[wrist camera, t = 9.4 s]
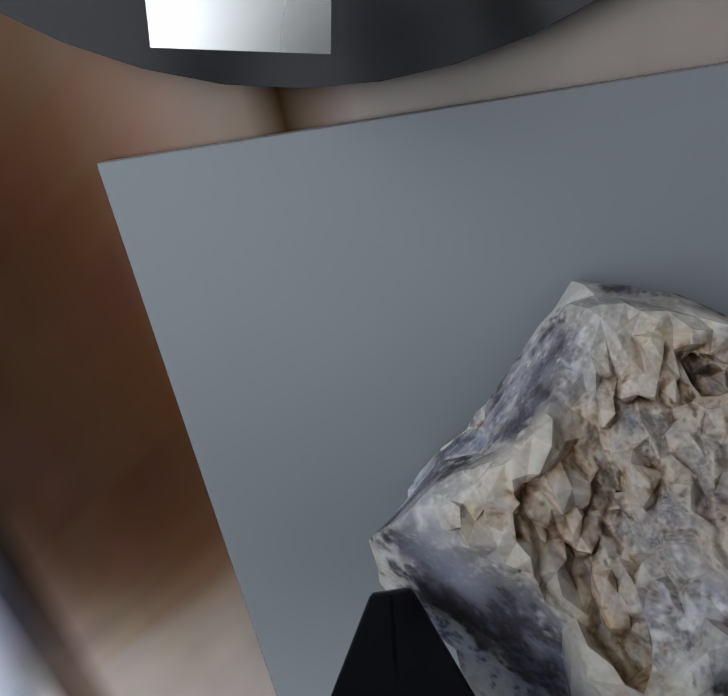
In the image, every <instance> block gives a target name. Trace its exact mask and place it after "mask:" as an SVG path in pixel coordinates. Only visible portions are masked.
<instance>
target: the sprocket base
mask: <svg viewBox="0 0 728 696" xmlns="http://www.w3.org/2000/svg"><path fill="white" fill-rule="evenodd" d="M593 1H595V0H336V47H335V49H334V50H333V52H332V53H331V54H312V53H285V52H258V51H231V50H204V49H177V48H150V39H149V29H148V20H147V11H146V2H145V0H0V13H2V14H4V15H6V16H9V17H11V18H13V19H15V20H17V21H19V22H21V23H23V24H26V25H28V26H30V27H32V28H34V29H36V30H38V31H40V32H42V33H45V34H47V35H49V36H51V37H53V38H55V39H57V40H59V41H61V42H64V43H67V44H70V45H73V46H76V47H79V48H82V49H85V50H88V51H91V52H94V53H97V54H100V55H103V56H106V57H109V58H112V59H115V60H118V61H121V62H124V63H127V64H130V65H134V66H137V67H140V68H143V69H147V70H152V71H157V72H162V73H168V74H173V75H178V76H183V77H189V78H194V79H199V80H204V81H210V82H215V83H220V84H229V85H249V86H269V87H288V88H310V87H322V86H333V85H344V84H355V83H366V82H377V81H383V80H387V79H392V78H396V77H400V76H404V75H409V74H413V73H417V72H421V71H426V70H430V69H434V68H438V67H443V66H447V65H451V64H455V63H459V62H461V61H464V60H467V59H469V58H472V57H474V56H477V55H480V54H482V53H485V52H487V51H490V50H493V49H495V48H498V47H500V46H503V45H506V44H508V43H511V42H513V41H516V40H519V39H521V38H524V37H526V36H529V35H532V34H534V33H536V32H538V31H540V30H542V29H544V28H545V27H547V26H549V25H551V24H553V23H555V22H557V21H558V20H560V19H562V18H564V17H566V16H568V15H569V14H571V13H573V12H575V11H577V10H579V9H580V8H582V7H584V6H586V5H588V4H590V3H592V2H593Z"/></svg>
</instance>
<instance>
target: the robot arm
mask: <svg viewBox="0 0 728 696" xmlns="http://www.w3.org/2000/svg"><path fill="white" fill-rule="evenodd" d="M331 696H475V694H474V693H473V691H472V689H471V687H470V686H469V684H468V682H467V681H466V679H465V677H464V676H463V674H462V672H461V670H460V669H459V667H458V665H457V664H456V662H455V660H454V659H453V657H452V655H451V653H450V652H449V650H448V648H447V647H446V645H445V643H444V642H443V640H442V638H441V637H440V635H439V633H438V631H437V630H436V628H435V626H434V625H433V623H432V621H431V620H430V618H429V616H428V614H427V613H426V611H425V609H424V608H423V606H422V604H421V603H420V601H419V599H418V597H417V596H416V594H415V592H414V591H413V590H412V589H411V588H409V587H406V588H399V589H392V590H385V591H377V592H373V593H372V594H371V595H370V597H369V599H368V601H367V604H366V606H365V609H364V611H363V614H362V616H361V619H360V622H359V624H358V627H357V629H356V632H355V634H354V637H353V640H352V642H351V645H350V647H349V650H348V652H347V655H346V658H345V660H344V663H343V665H342V668H341V670H340V673H339V676H338V678H337V681H336V683H335V686H334V689H333V691H332V694H331Z"/></svg>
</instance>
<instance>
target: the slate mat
mask: <svg viewBox="0 0 728 696" xmlns="http://www.w3.org/2000/svg"><path fill="white" fill-rule="evenodd" d="M97 166H98V169H99V172H100V175H101V178H102V181H103V184H104V187H105V189H106V192H107V195H108V198H109V201H110V204H111V207H112V210H113V213H114V216H115V219H116V222H117V225H118V228H119V231H120V234H121V237H122V240H123V243H124V246H125V249H126V252H127V255H128V257H129V260H130V263H131V266H132V269H133V272H134V275H135V278H136V281H137V284H138V287H139V290H140V293H141V296H142V299H143V302H144V305H145V308H146V311H147V314H148V317H149V320H150V323H151V325H152V328H153V331H154V334H155V337H156V340H157V343H158V346H159V349H160V352H161V355H162V358H163V361H164V364H165V367H166V370H167V373H168V376H169V379H170V382H171V385H172V388H173V391H174V393H175V396H176V399H177V402H178V405H179V408H180V411H181V414H182V417H183V420H184V423H185V426H186V429H187V432H188V435H189V438H190V441H191V444H192V447H193V450H194V453H195V456H196V459H197V461H198V464H199V467H200V470H201V473H202V476H203V479H204V482H205V485H206V488H207V491H208V494H209V497H210V500H211V503H212V506H213V509H214V512H215V515H216V518H217V521H218V524H219V527H220V529H221V532H222V535H223V538H224V541H225V544H226V547H227V550H228V553H229V556H230V559H231V562H232V565H233V568H234V571H235V574H236V577H237V580H238V583H239V586H240V589H241V592H242V595H243V598H244V600H245V603H246V606H247V609H248V612H249V615H250V618H251V621H252V624H253V627H254V630H255V633H256V636H257V639H258V642H259V645H260V648H261V651H262V654H263V657H264V660H265V663H266V666H267V668H268V671H269V674H270V677H271V680H272V683H273V686H274V689H275V692H276V695H277V696H331V694H332V691H333V689H334V686H335V683H336V681H337V678H338V676H339V673H340V670H341V668H342V665H343V663H344V660H345V658H346V655H347V652H348V650H349V647H350V645H351V642H352V640H353V637H354V634H355V632H356V629H357V627H358V624H359V622H360V619H361V616H362V614H363V611H364V609H365V606H366V604H367V601H368V599H369V597H370V595H371V594H372V593H373V592H377V591H385V589H384V587H383V586H382V585H381V584H380V582H379V573H378V567H377V564H376V561H375V558H374V555H373V552H372V549H371V546H370V543H369V540H370V539H371V538H372V536H373V535H374V534H375V533H376V532H377V531H378V530H379V529H380V528H381V527H382V526H384V525H385V524H386V523H387V522H388V521H389V520H390V519H391V517H392V516H393V515H394V514H395V512H396V511H397V510H398V509H399V508H400V506H401V505H402V504H403V503H404V502H405V501H406V500H407V498H408V489H409V488H410V486H411V485H412V483H413V482H414V480H415V479H416V477H417V476H418V474H419V473H420V471H421V470H422V469H423V468H424V467H425V466H426V464H427V463H428V462H429V461H430V460H431V459H432V457H433V456H434V455H435V454H436V453H437V452H438V451H439V450H440V449H441V448H442V447H443V446H445V445H446V444H448V443H449V442H450V441H452V440H453V439H455V438H456V437H457V436H459V435H460V434H461V433H463V432H464V431H465V430H467V428H468V426H469V424H470V422H471V420H472V418H473V417H474V415H475V413H476V412H477V411H478V410H479V409H481V408H482V407H483V406H484V405H485V404H486V403H487V401H488V400H489V398H490V397H491V395H492V394H493V393H494V391H495V390H496V388H497V387H498V385H499V384H500V383H501V381H502V380H503V378H504V377H505V375H506V374H507V372H508V371H509V370H510V368H511V367H512V365H513V364H514V362H515V361H516V359H517V358H518V356H519V355H520V353H521V352H522V350H523V349H524V347H525V346H526V344H527V343H528V341H529V340H530V338H531V337H532V335H533V334H534V332H535V331H536V329H537V328H538V326H539V325H540V324H541V322H542V321H543V320H544V319H545V318H546V317H547V316H548V315H549V314H550V313H551V312H552V311H553V310H554V308H555V306H556V305H557V303H558V302H559V300H560V299H561V297H562V295H563V294H564V292H565V291H566V289H567V287H568V286H569V284H570V283H571V281H581V282H592V283H604V284H614V285H624V286H632V287H635V288H638V289H641V290H645V291H648V292H663V293H674V294H679V295H681V296H683V297H686V298H688V299H690V300H693V301H695V302H697V303H699V304H702V305H704V306H706V307H708V308H711V309H713V310H715V311H718V312H720V313H722V314H725V315H727V316H728V62H724V63H718V64H711V65H705V66H699V67H692V68H686V69H680V70H673V71H667V72H661V73H655V74H648V75H642V76H636V77H629V78H623V79H617V80H611V81H604V82H598V83H592V84H585V85H579V86H573V87H567V88H560V89H554V90H548V91H541V92H535V93H529V94H523V95H516V96H510V97H504V98H497V99H491V100H485V101H479V102H472V103H466V104H460V105H453V106H447V107H441V108H435V109H428V110H422V111H416V112H409V113H403V114H397V115H391V116H384V117H378V118H372V119H365V120H359V121H353V122H347V123H340V124H334V125H328V126H321V127H315V128H309V129H303V130H296V131H290V132H284V133H277V134H271V135H265V136H259V137H252V138H246V139H240V140H233V141H227V142H221V143H215V144H208V145H202V146H196V147H189V148H183V149H177V150H171V151H164V152H158V153H152V154H145V155H139V156H133V157H126V158H120V159H114V160H108V161H102V162H100V163H98V164H97ZM442 640H443V639H442ZM443 642H444V643H445V645H446V647H447V648H448V650H449V652H450V653H451V655H452V657H453V659H454V660H455V662H456V664H457V665H458V667H459V669H460V670H461V667H460V663H459V660H458V656H457V652H456V649H454V648H453V647H452V646H450V645H449V644H448V643H446V642H445V641H444V640H443ZM461 672H462V671H461Z"/></svg>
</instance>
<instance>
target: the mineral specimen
mask: <svg viewBox="0 0 728 696" xmlns="http://www.w3.org/2000/svg"><path fill="white" fill-rule="evenodd" d="M369 543H370V546H371V549H372V552H373V555H374V558H375V561H376V564H377V567H378V573H379V582H380V584H381V585H382V586H383V587H384V589H385V590H392V589H399V588H406V587H409V588H411V589H412V590H413V591H414V592H415V594H416V596H417V597H418V599H419V601H420V603H421V604H422V606H423V608H424V609H425V611H426V613H427V614H428V616H429V618H430V620H431V621H432V623H433V625H434V626H435V628H436V630H437V631H438V633H439V635H440V637H441V638H442V639H443V640H444V641H445V642H446V643H448V644H449V645H450V646H452V647H453V648H454V649H456V652H457V656H458V660H459V663H460V667H461V671H462V674H463V676H464V677H465V679H466V681H467V682H468V684H469V686H470V687H471V689H472V691H473V693H474V694H475V696H728V316H727V315H725V314H722V313H720V312H718V311H715V310H713V309H711V308H708V307H706V306H704V305H702V304H699V303H697V302H695V301H693V300H690V299H688V298H686V297H683V296H681V295H679V294H674V293H663V292H648V291H645V290H641V289H638V288H635V287H632V286H624V285H614V284H604V283H592V282H581V281H571V283H570V284H569V286H568V287H567V289H566V291H565V292H564V294H563V295H562V297H561V299H560V300H559V302H558V303H557V305H556V306H555V308H554V310H553V311H552V312H551V313H550V314H549V315H548V316H547V317H546V318H545V319H544V320H543V321H542V322H541V324H540V325H539V326H538V328H537V329H536V331H535V332H534V334H533V335H532V337H531V338H530V340H529V341H528V343H527V344H526V346H525V347H524V349H523V350H522V352H521V353H520V355H519V356H518V358H517V359H516V361H515V362H514V364H513V365H512V367H511V368H510V370H509V371H508V372H507V374H506V375H505V377H504V378H503V380H502V381H501V383H500V384H499V385H498V387H497V388H496V390H495V391H494V393H493V394H492V395H491V397H490V398H489V400H488V401H487V403H486V404H485V405H484V406H483V407H482V408H481V409H479V410H478V411H477V412H476V413H475V415H474V417H473V418H472V420H471V422H470V424H469V426H468V428H467V430H465V431H464V432H463V433H461V434H460V435H459V436H457V437H456V438H455V439H453V440H452V441H450V442H449V443H448V444H446V445H445V446H443V447H442V448H441V449H440V450H439V451H438V452H437V453H436V454H435V455H434V456H433V457H432V459H431V460H430V461H429V462H428V463H427V464H426V466H425V467H424V468H423V469H422V470H421V471H420V473H419V474H418V476H417V477H416V479H415V480H414V482H413V483H412V485H411V486H410V488H409V489H408V498H407V500H406V501H405V502H404V503H403V504H402V505H401V506H400V508H399V509H398V510H397V511H396V512H395V514H394V515H393V516H392V517H391V519H390V520H389V521H388V522H387V523H386V524H385V525H384V526H382V527H381V528H380V529H379V530H378V531H377V532H376V533H375V534H374V535H373V536H372V538H371V539H370V540H369Z"/></svg>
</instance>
